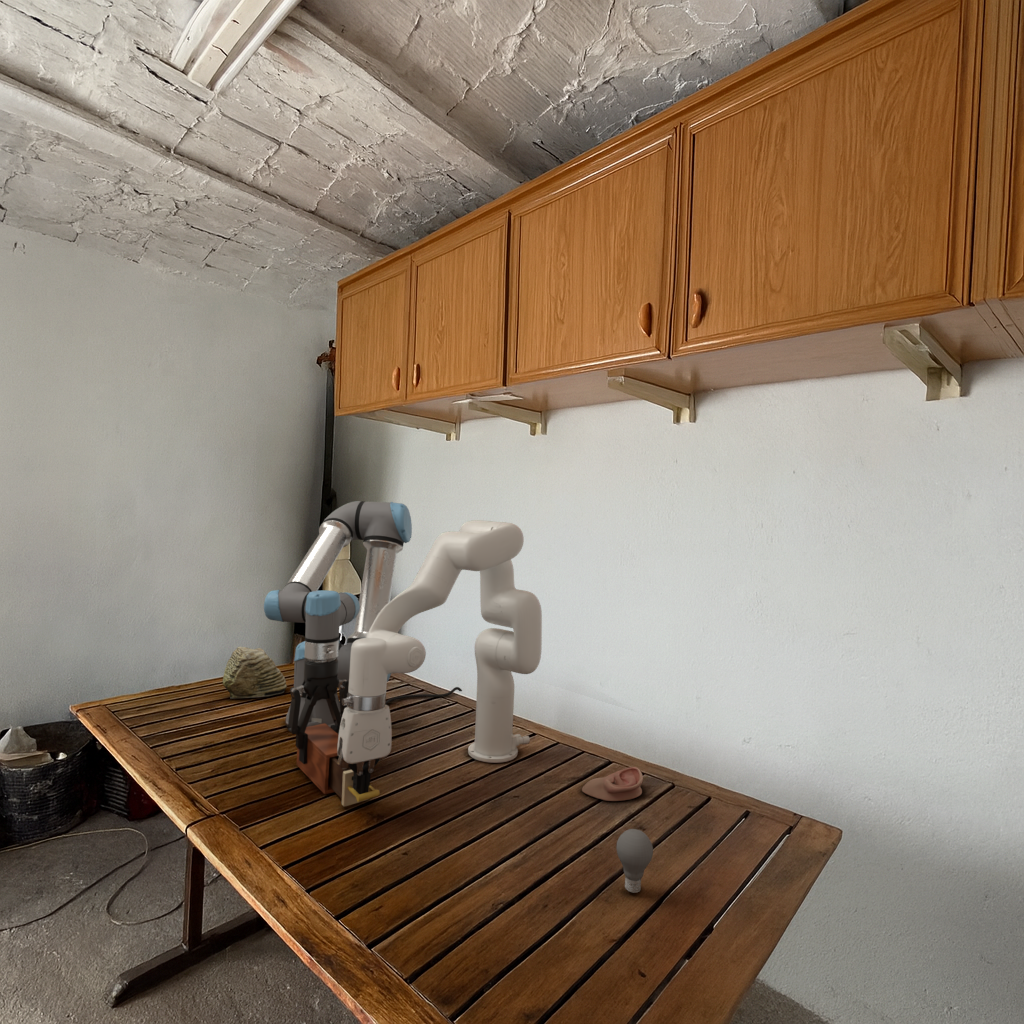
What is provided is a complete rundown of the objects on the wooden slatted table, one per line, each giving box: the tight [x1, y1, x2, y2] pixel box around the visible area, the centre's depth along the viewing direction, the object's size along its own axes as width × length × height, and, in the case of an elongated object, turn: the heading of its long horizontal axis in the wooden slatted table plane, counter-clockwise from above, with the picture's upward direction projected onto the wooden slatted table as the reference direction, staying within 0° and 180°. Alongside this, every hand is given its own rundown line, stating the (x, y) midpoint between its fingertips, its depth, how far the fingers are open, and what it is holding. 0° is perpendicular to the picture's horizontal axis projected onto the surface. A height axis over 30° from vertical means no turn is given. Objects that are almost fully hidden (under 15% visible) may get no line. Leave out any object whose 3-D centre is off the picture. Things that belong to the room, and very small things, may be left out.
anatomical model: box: [581, 766, 644, 802], centre depth 142 cm, size 13×4×12 cm
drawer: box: [328, 756, 381, 807], centre depth 134 cm, size 22×5×7 cm, turn 39°
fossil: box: [222, 646, 288, 699], centre depth 198 cm, size 9×18×15 cm, turn 132°
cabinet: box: [296, 723, 339, 795], centre depth 143 cm, size 17×7×9 cm, turn 39°
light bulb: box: [615, 828, 654, 894], centre depth 106 cm, size 6×6×10 cm
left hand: (318, 757), depth 146 cm, fingers closed on cabinet, 7 cm apart
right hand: (361, 791), depth 128 cm, fingers closed
